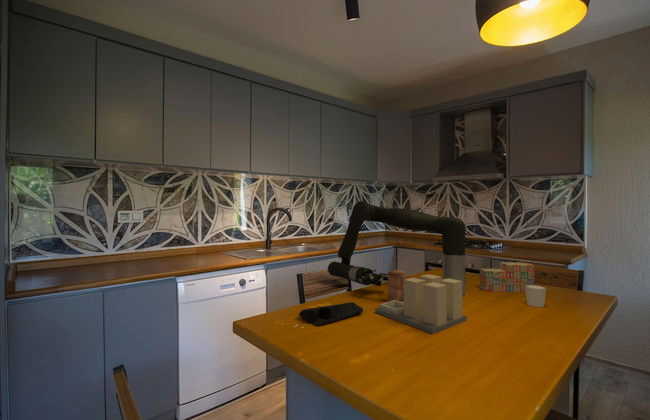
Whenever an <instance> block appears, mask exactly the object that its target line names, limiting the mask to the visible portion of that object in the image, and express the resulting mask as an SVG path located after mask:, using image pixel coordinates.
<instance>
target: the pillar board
mask: <svg viewBox="0 0 650 420" xmlns="http://www.w3.org/2000/svg"><path fill="white" fill-rule="evenodd" d="M419 276H420V278H416V277H410V278H406V279H405V280H404V301H401V302H399V301H396V300H394V301H390V302H389V301H387V302H382V303H379V307H376V308H375V309H374V313H375V314H378V315H380V316H384V317H386V318H389V319H392V320H394V321H397V322H399V323H403V324H404V325H407V326H410V327H413V328H416V329H419V330H422V332H426V333H429V334H432V335H434V334H436V333H438V332H441V331H443V330H446V329H449V328H452V327H454V326H456V325H458V324H461V323H464V322H466V321H467V315H464V314H463V296H462V281H459V280H454V279H450V278H448V279H444V280H442V276H439V275H435V274H423V275H419Z"/></svg>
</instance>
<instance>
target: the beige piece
mask: <svg viewBox="0 0 650 420" xmlns="http://www.w3.org/2000/svg"><path fill="white" fill-rule="evenodd" d="M525 288H526V292H525V296H526V305H528V306H530V307H536V308H544V307H545V301H546V294H547V287H545V286H542V285H541V286H540V285H535V284H534V285H526V286H525Z"/></svg>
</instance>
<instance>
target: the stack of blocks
mask: <svg viewBox="0 0 650 420" xmlns="http://www.w3.org/2000/svg"><path fill="white" fill-rule="evenodd" d="M535 275H536V272H535V265H534V264H531V263H528V262H519V261H517V262H516V261H515V262H504V261H503V262H499V268H479V289H481V290H483V291H484V292H492V293H493V292H497V293H498V292H500V293H501V292H502V293H505V292H506V293H510V292H511V293H526V288H525V286H526V285H535V279H536V277H535Z"/></svg>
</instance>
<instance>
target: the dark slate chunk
mask: <svg viewBox="0 0 650 420" xmlns="http://www.w3.org/2000/svg"><path fill="white" fill-rule="evenodd" d="M363 312H364V308H362V307H361V306H359V304H358V305H357V303H355V302H353V301H352V302H344V303H339V304H333V305H324V306H318V307H317V306H316V307H312V308H311V307H310V308H305V309H302V310H300V312H299V314H298V316H299V317H300V318H302V320H303V321H305V323H307V324H312V325H313V326H316V327H322V326H323V325H329V324H333V323H336V322H339V321H342V320H346V319H349V318H352V317H355V316H357V315H359V314H361V313H363Z"/></svg>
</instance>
